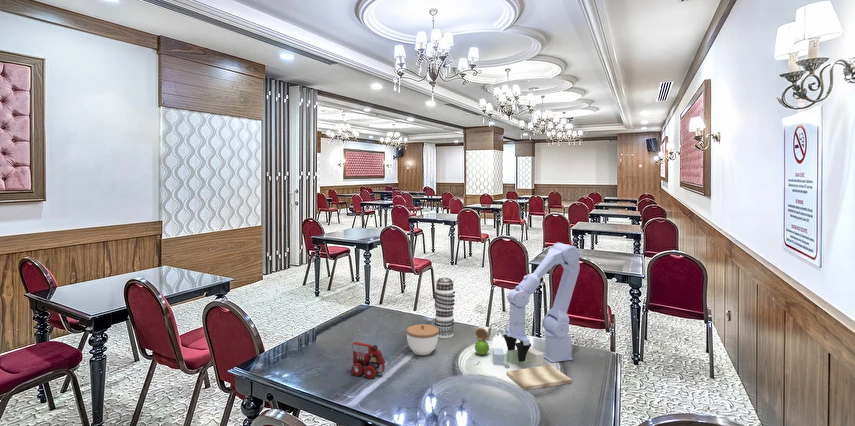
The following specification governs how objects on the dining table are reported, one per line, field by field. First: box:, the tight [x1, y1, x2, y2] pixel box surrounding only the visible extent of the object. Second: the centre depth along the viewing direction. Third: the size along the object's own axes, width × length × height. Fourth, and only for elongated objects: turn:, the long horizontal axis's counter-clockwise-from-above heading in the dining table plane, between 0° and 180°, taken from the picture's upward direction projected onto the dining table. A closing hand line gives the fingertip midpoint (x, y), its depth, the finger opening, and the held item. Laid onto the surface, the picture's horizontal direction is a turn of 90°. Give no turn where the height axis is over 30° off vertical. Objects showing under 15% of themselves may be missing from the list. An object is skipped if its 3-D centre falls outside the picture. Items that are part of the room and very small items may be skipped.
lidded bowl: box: [406, 323, 439, 356], centre depth 169 cm, size 13×13×11 cm
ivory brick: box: [526, 347, 545, 367], centre depth 161 cm, size 6×4×4 cm, turn 28°
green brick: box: [506, 349, 527, 365], centre depth 161 cm, size 6×4×4 cm, turn 108°
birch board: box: [505, 364, 573, 391], centre depth 146 cm, size 18×12×1 cm, turn 108°
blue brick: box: [492, 348, 505, 366], centre depth 161 cm, size 6×4×4 cm, turn 177°
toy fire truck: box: [350, 341, 386, 380], centre depth 149 cm, size 7×12×10 cm, turn 68°
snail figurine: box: [474, 324, 493, 356], centre depth 167 cm, size 5×6×12 cm
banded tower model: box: [433, 277, 456, 339], centre depth 188 cm, size 9×9×25 cm
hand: (516, 357), depth 161 cm, fingers open, 7 cm apart
